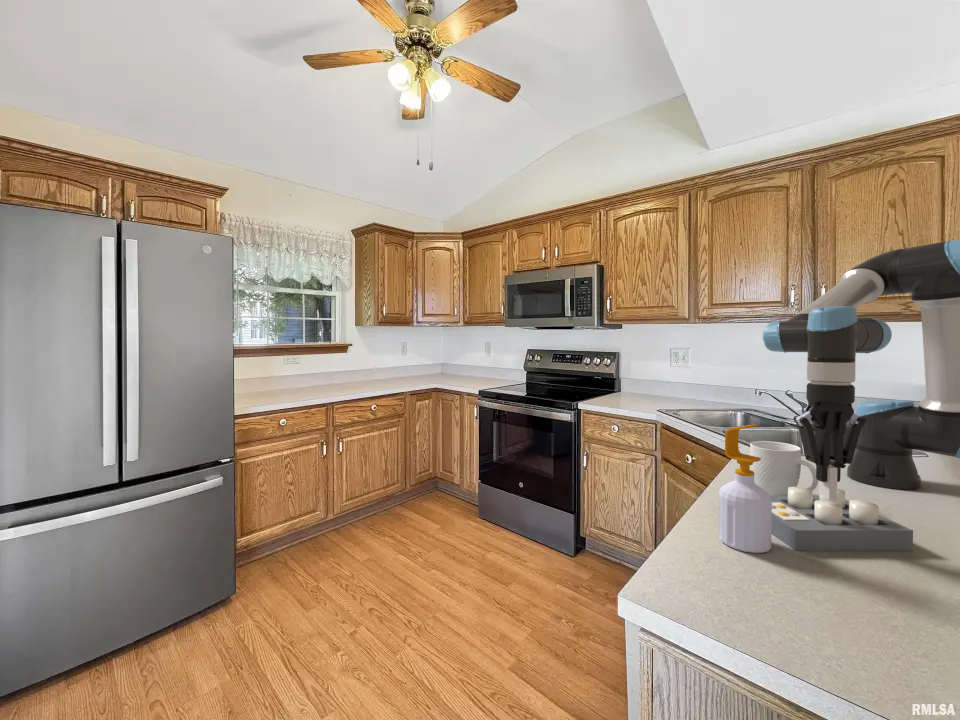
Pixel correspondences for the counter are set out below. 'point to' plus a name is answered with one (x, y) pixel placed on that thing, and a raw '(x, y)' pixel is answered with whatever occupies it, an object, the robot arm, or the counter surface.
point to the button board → (835, 530)
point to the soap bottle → (744, 503)
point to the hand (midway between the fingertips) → (827, 496)
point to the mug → (778, 467)
